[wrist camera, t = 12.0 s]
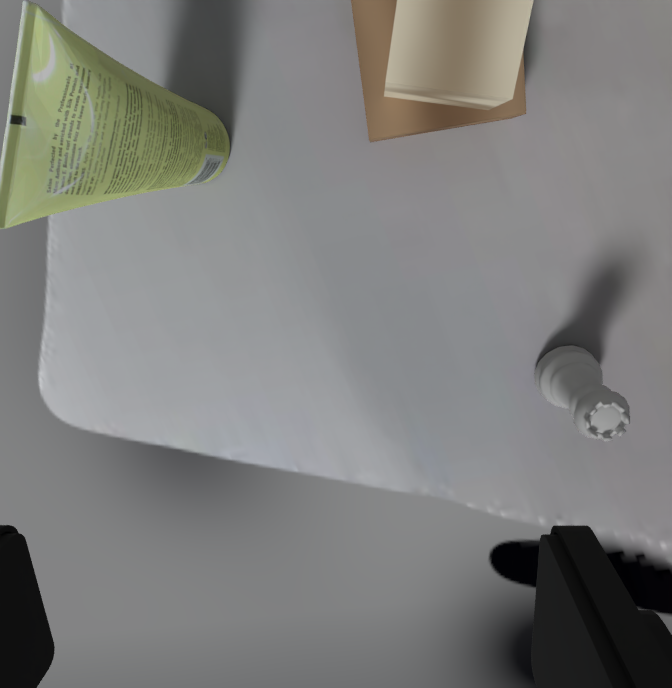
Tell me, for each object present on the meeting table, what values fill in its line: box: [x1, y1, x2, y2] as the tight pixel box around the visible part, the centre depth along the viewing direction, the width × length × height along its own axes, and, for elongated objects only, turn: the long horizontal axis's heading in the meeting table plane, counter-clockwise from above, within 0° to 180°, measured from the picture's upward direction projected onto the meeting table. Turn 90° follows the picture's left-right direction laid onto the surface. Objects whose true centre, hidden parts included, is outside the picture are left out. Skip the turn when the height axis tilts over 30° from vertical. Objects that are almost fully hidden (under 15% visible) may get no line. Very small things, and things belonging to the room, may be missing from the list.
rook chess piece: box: [534, 345, 630, 441], centre depth 36 cm, size 4×4×8 cm
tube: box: [0, 0, 230, 229], centre depth 27 cm, size 6×5×20 cm
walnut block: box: [351, 0, 526, 142], centre depth 32 cm, size 9×9×4 cm
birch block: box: [384, 0, 534, 110], centre depth 28 cm, size 6×6×6 cm
